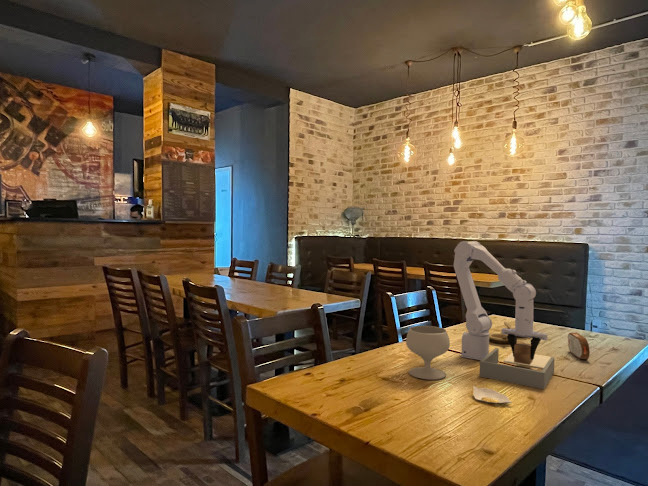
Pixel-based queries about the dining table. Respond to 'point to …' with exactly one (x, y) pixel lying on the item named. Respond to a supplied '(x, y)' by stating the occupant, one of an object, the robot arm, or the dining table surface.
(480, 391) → the pale veined leaf
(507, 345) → the tableware set
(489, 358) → the open box
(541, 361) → the mat
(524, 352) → the walnut block
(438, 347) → the chalice
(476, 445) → the dining table surface
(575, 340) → the tin
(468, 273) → the robot arm
